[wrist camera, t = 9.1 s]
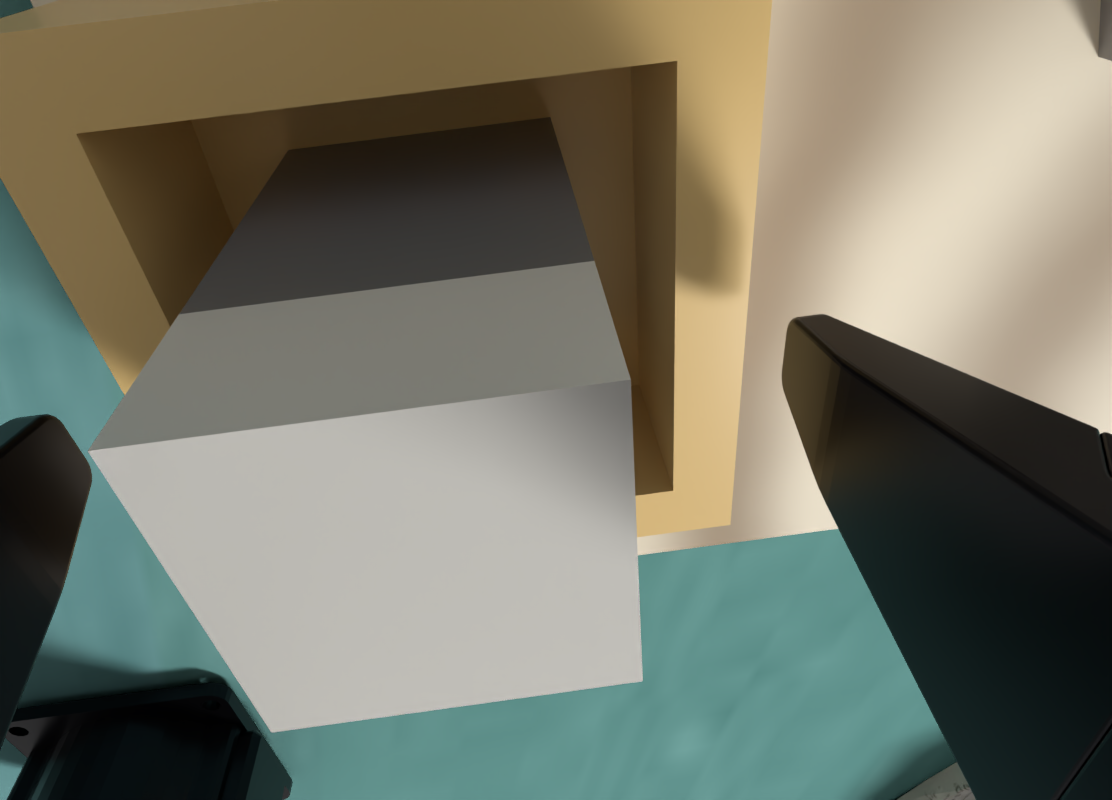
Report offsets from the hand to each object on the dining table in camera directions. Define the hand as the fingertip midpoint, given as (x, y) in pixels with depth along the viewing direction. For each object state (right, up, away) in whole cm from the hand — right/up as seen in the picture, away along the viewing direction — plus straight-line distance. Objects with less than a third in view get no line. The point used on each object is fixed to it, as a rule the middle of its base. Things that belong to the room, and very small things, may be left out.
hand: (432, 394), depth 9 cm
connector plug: (0, +2, +3) cm, 4 cm away
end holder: (0, +3, +4) cm, 5 cm away
